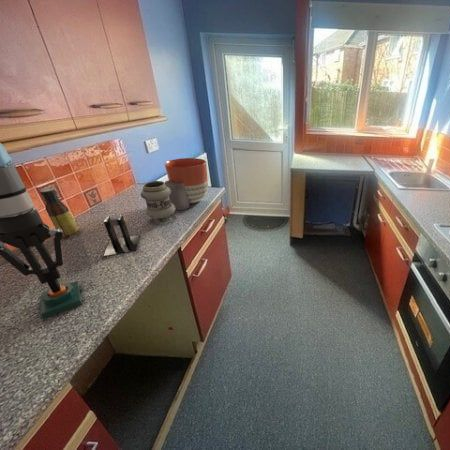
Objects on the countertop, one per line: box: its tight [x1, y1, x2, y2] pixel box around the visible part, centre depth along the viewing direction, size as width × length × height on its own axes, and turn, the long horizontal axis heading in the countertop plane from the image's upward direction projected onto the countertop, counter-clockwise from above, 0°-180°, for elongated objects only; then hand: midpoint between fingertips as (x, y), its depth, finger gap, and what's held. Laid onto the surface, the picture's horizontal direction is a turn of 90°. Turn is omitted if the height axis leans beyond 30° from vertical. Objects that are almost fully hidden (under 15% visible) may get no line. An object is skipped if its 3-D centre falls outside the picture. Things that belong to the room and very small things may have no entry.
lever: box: [110, 217, 130, 227], centre depth 95 cm, size 14×4×4 cm, turn 24°
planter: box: [164, 157, 209, 204], centre depth 131 cm, size 20×20×21 cm
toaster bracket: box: [103, 214, 141, 257], centre depth 92 cm, size 12×10×13 cm
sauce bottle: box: [39, 187, 80, 239], centre depth 96 cm, size 6×6×20 cm
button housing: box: [39, 280, 83, 320], centre depth 70 cm, size 10×8×4 cm
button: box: [48, 285, 67, 297], centre depth 69 cm, size 4×4×2 cm
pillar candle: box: [164, 180, 191, 212], centre depth 125 cm, size 10×10×15 cm
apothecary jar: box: [140, 180, 176, 223], centre depth 111 cm, size 12×12×18 cm
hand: (56, 289), depth 68 cm, fingers closed
